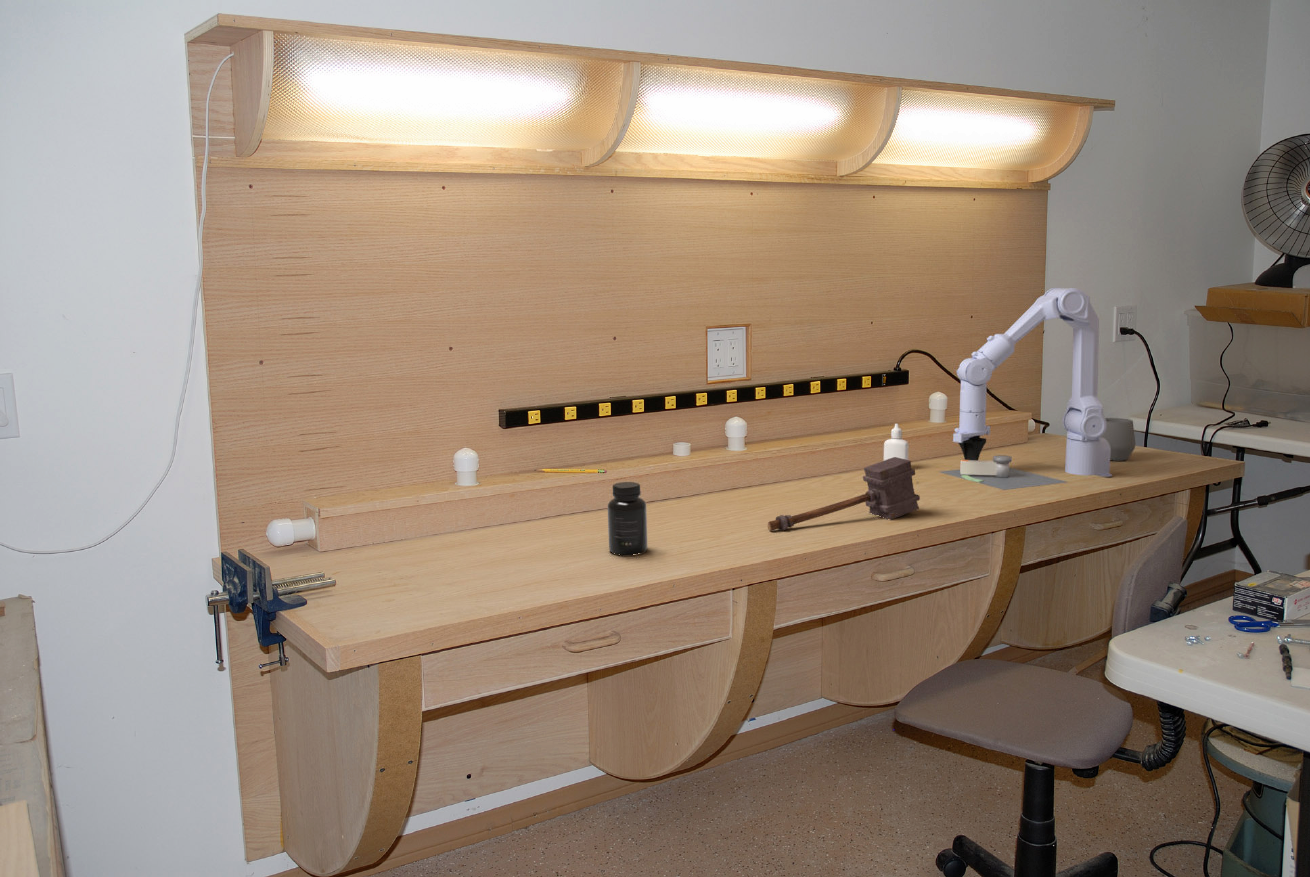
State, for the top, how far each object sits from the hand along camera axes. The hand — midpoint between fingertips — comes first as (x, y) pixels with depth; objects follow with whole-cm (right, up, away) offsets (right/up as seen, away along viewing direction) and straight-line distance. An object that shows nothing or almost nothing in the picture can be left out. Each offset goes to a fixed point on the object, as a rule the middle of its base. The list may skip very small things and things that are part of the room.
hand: (970, 469), depth 229 cm
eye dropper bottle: (-16, -1, +8) cm, 17 cm away
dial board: (+6, -3, -3) cm, 7 cm away
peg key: (+3, -1, -2) cm, 4 cm away
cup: (+43, +2, +21) cm, 48 cm away
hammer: (-37, -10, -37) cm, 53 cm away
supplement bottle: (-78, -13, -55) cm, 96 cm away
